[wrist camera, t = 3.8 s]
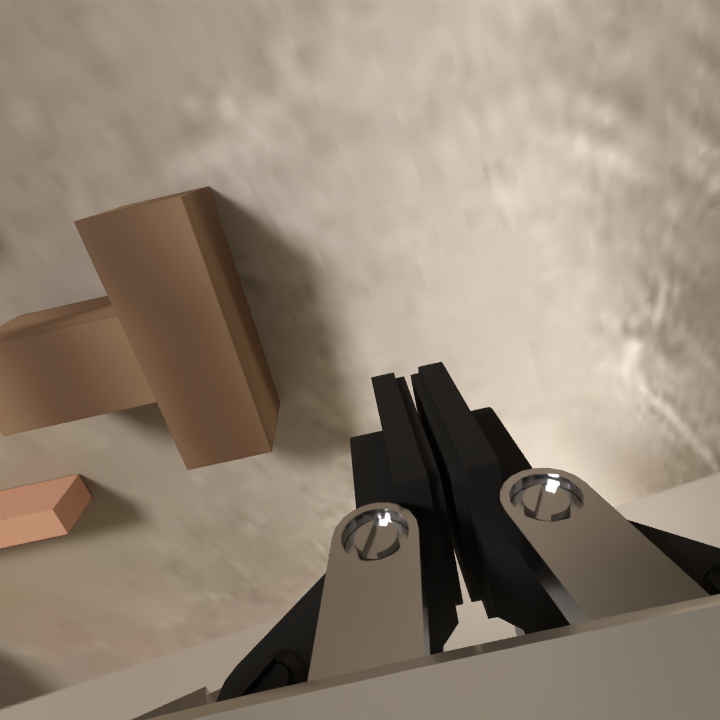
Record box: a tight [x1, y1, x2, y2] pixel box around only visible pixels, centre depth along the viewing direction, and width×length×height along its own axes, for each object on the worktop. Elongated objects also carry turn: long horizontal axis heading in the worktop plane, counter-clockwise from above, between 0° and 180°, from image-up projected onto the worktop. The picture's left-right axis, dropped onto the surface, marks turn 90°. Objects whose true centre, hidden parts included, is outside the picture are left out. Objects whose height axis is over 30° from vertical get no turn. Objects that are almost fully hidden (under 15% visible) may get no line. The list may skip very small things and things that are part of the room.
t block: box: [0, 186, 280, 470], centre depth 19 cm, size 10×10×4 cm
